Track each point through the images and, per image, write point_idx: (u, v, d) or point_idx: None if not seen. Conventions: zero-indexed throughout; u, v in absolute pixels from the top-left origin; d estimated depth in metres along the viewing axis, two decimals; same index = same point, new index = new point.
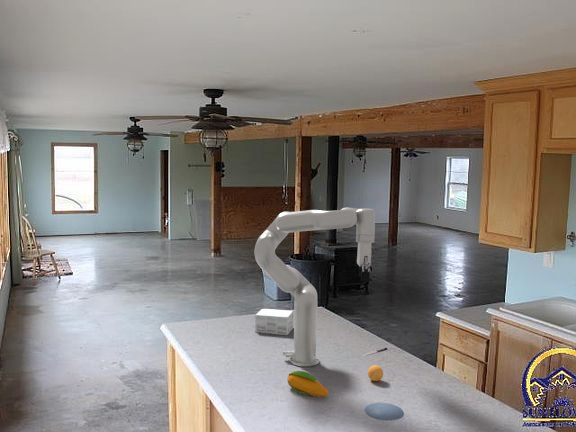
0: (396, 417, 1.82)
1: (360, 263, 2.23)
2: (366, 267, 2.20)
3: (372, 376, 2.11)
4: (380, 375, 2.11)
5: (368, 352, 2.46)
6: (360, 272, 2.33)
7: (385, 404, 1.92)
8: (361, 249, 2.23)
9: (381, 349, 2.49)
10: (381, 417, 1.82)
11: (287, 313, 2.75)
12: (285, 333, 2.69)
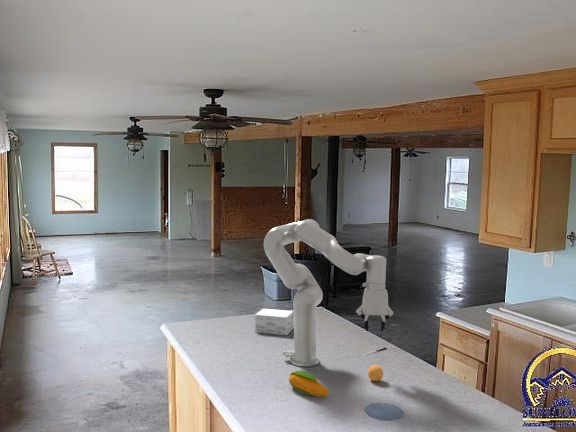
0: (396, 417, 1.82)
1: (387, 312, 2.18)
2: None
3: (372, 376, 2.11)
4: (380, 375, 2.11)
5: (367, 352, 2.46)
6: None
7: (385, 404, 1.92)
8: (387, 297, 2.18)
9: (380, 349, 2.50)
10: (381, 417, 1.82)
11: (287, 313, 2.74)
12: (284, 333, 2.69)
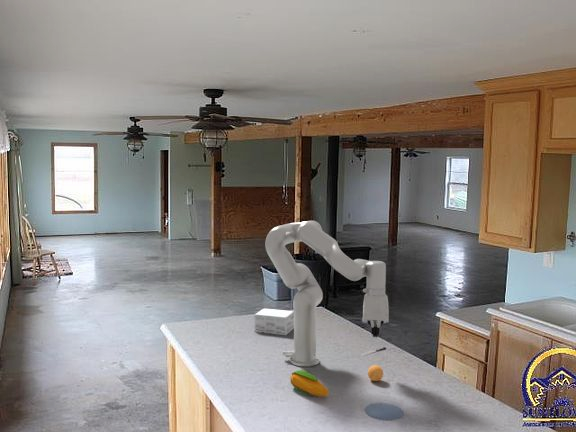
0: (396, 417, 1.82)
1: (388, 317, 2.18)
2: None
3: (372, 376, 2.11)
4: (380, 375, 2.11)
5: (367, 352, 2.47)
6: (375, 332, 2.20)
7: (385, 404, 1.92)
8: (387, 303, 2.18)
9: (380, 349, 2.50)
10: (381, 417, 1.82)
11: (287, 313, 2.74)
12: (284, 333, 2.69)
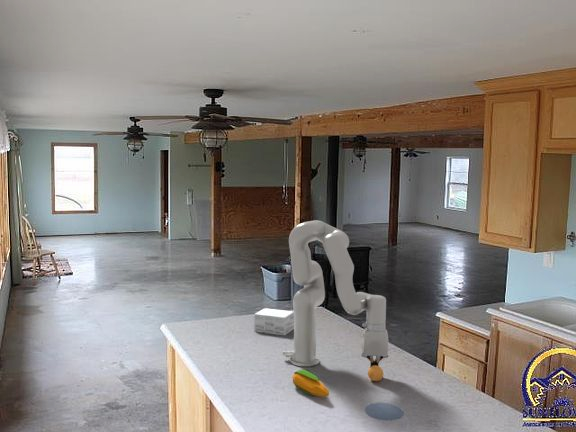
0: (396, 417, 1.82)
1: None
2: None
3: (372, 376, 2.11)
4: (380, 375, 2.11)
5: None
6: None
7: (385, 404, 1.92)
8: (387, 338, 2.16)
9: None
10: (381, 417, 1.82)
11: (287, 314, 2.74)
12: (282, 333, 2.69)
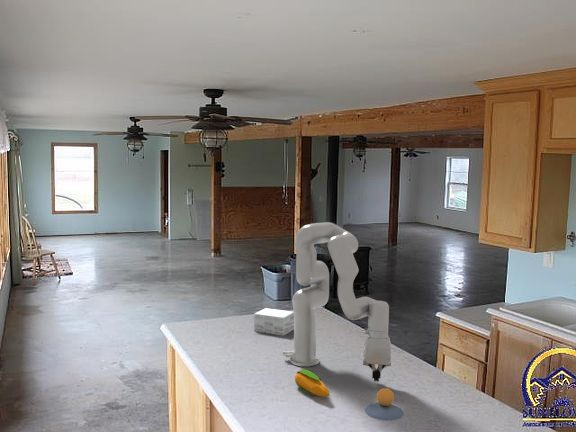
0: (396, 417, 1.82)
1: (390, 360, 2.07)
2: None
3: (381, 404, 1.90)
4: (390, 404, 1.90)
5: None
6: None
7: None
8: (390, 345, 2.07)
9: None
10: (381, 417, 1.82)
11: (286, 314, 2.73)
12: (281, 333, 2.68)
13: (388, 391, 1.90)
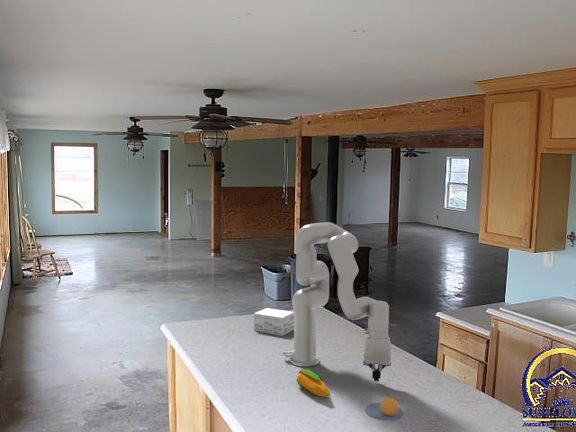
0: (396, 417, 1.82)
1: (390, 360, 2.07)
2: None
3: None
4: None
5: None
6: None
7: None
8: (390, 345, 2.07)
9: None
10: (381, 417, 1.82)
11: (286, 314, 2.73)
12: (280, 334, 2.68)
13: None
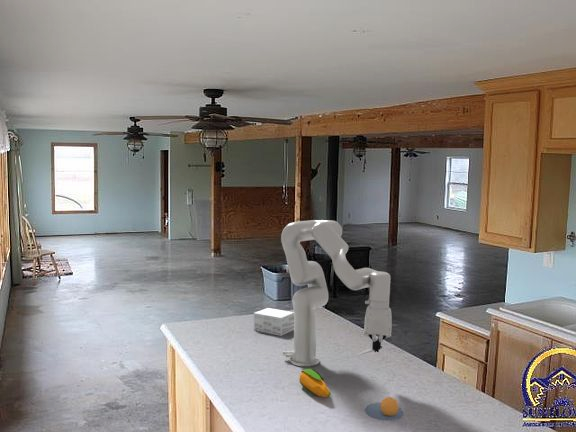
0: (396, 417, 1.82)
1: None
2: None
3: None
4: None
5: None
6: None
7: None
8: (391, 316, 2.06)
9: None
10: (381, 417, 1.82)
11: (285, 314, 2.73)
12: (279, 334, 2.68)
13: None
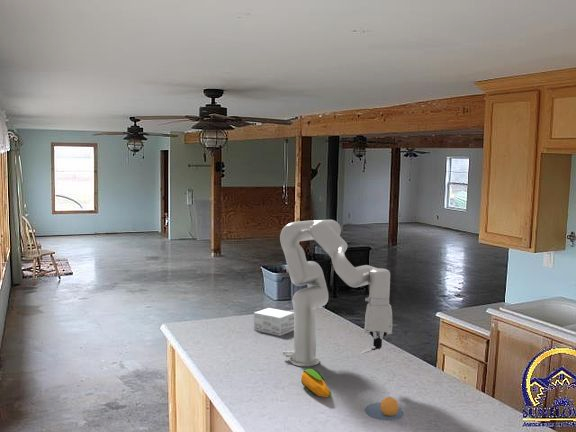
0: (396, 417, 1.82)
1: (391, 328, 2.06)
2: None
3: None
4: None
5: (363, 350, 2.48)
6: None
7: None
8: (391, 313, 2.06)
9: None
10: (381, 417, 1.82)
11: (285, 314, 2.73)
12: (278, 334, 2.68)
13: None
